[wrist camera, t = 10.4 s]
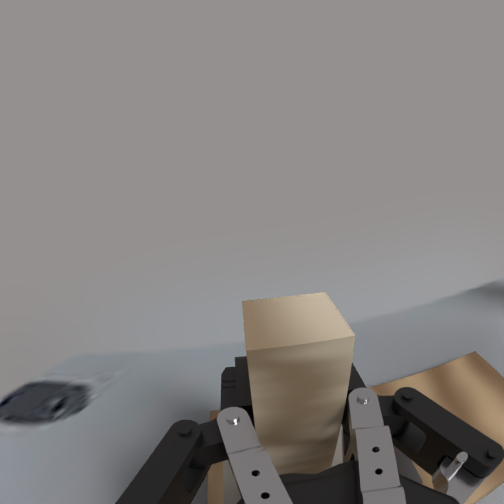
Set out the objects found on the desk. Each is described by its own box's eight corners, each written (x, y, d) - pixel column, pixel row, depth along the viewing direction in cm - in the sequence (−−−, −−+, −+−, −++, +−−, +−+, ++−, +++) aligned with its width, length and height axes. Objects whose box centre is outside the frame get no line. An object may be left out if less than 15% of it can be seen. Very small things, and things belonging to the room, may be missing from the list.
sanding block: (339, 430, 17) (359, 276, 14) (364, 496, 11) (426, 340, 8) (226, 446, 17) (194, 293, 13) (227, 517, 11) (171, 378, 7)
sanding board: (470, 362, 22) (475, 350, 21) (546, 443, 8) (555, 430, 8) (213, 422, 21) (210, 410, 20) (212, 578, 7) (206, 575, 7)
